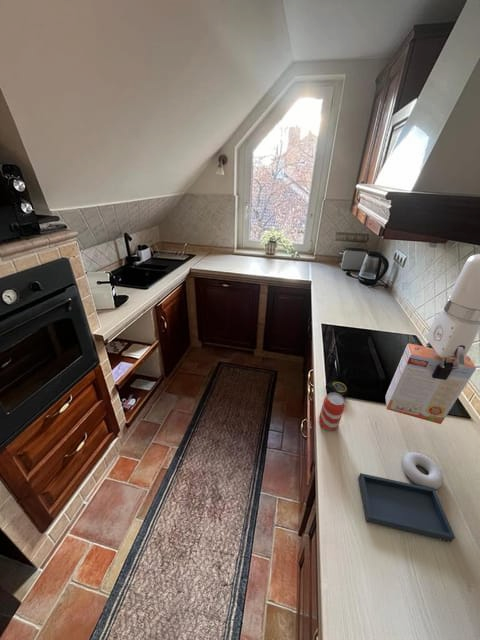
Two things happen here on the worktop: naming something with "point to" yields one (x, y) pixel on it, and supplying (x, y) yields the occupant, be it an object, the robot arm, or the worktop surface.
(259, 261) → the worktop surface
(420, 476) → the donut
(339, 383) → the tape measure
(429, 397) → the cracker box
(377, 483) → the tray
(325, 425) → the beverage can
